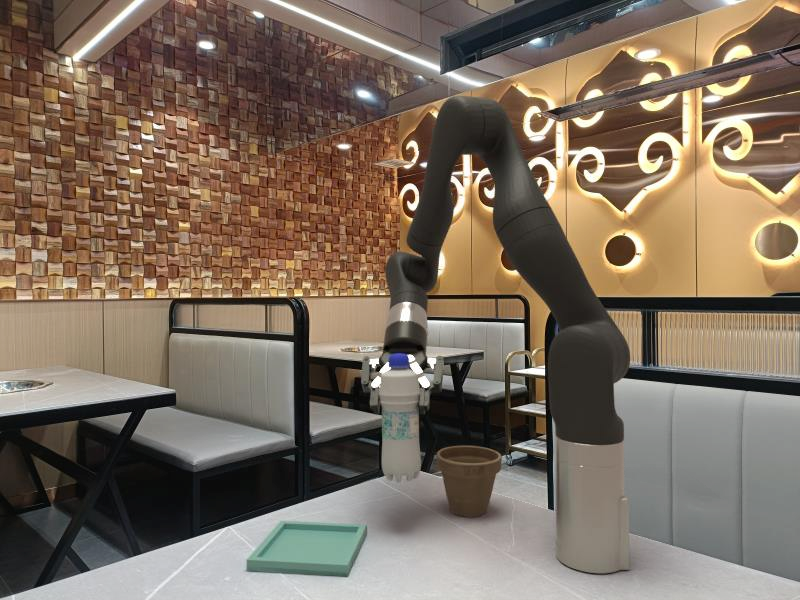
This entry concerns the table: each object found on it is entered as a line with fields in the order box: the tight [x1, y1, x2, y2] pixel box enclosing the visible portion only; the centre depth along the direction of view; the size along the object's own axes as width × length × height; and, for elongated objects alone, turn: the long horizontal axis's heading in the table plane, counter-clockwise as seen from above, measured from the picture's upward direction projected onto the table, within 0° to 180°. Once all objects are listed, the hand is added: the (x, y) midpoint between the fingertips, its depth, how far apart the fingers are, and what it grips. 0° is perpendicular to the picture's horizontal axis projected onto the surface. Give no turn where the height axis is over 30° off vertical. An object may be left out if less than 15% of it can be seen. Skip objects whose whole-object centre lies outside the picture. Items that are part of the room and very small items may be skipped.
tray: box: [246, 520, 368, 577], centre depth 83 cm, size 14×14×2 cm
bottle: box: [379, 353, 422, 483], centre depth 91 cm, size 7×7×20 cm
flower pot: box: [435, 445, 503, 518], centre depth 99 cm, size 12×11×10 cm
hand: (398, 411), depth 89 cm, fingers closed on bottle, 6 cm apart
